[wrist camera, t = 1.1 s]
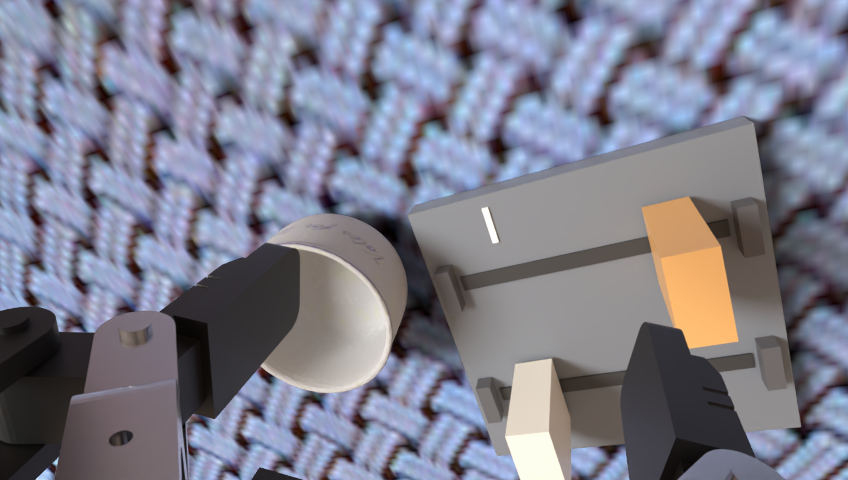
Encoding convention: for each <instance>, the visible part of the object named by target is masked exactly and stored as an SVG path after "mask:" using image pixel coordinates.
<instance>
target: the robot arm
mask: <svg viewBox="0 0 848 480" xmlns="http://www.w3.org/2000/svg"><path fill="white" fill-rule="evenodd" d="M299 307H300V254H299V251H298V250H297V249H296V248H292V247H287V246H282V245H277V244H272V243H265V244H263V245H262V246H261V247H259V248H258V249H257V250H256V251H254V252H253V253H252V254H250V255H249V256H248V257H247V258H243V257H242V258H239V259H236V260H234V261H231V262H228V263H226V264H223V265H221V266H220V267H219V268H217V269H216V270H215V271H213V272H212V273H211V274H209V275H208V278H206V277H205V278H204V279H202V280H201V281H200V282H198V283H197V285H196V286H193V287H192V288H190V289H189V290H188V291H186V292H185V293H184V294H182V295H181V296H180V297H178V298H177V299H176V300H174V301H173V302H172V303H170V304H169V305H168V306H166V307H165V308H164V309H162V310H161V311H160V312H156V311H137V312H130V313H126V314H123V315H120V316H117V317H114V318H112V319H110V320H108V321H107V322H105V323H104V324H102V325H101V326H100V327H99V328H98V329H97V330H96V332H95V333H80V332H59V331H58V326H57V321H56V317H55V315H54V313H52V312H51V311H49V310H47V309H44V308H39V307H18V308H12V309H7V310H3V311H0V480H35V479H36V478H37V477H38V476H39V475H40V474H42V473H43V472H44V471H45V470H46V469H47V468H48V467H49V466H50V465H51V464H52V463H53V462H54V461H55V460H56V459H57V458H58V457H59V459H58V464H57V468H56V473H55V478H54V480H190V477H189V459H188V441H187V427H186V421H187V420H188V419H189V418H190V417H191V415H192V414H193V413H194V414H198V415H202V416H205V417H209V418H213V419H215V418H216V417H217V416H218V415H219V414H220V413H221V411H222V410H223V409H224V408H225V407H226V406H227V404H228V403H229V402H230V401H231V400H232V399H233V397H234V396H235V395H236V394H237V393H238V391H239V390H240V389H241V388H242V387H243V386H244V384H245V383H246V382H247V381H248V380H249V379H250V377H251V376H252V375H253V374H254V373H255V372H256V370H257V369H258V368H259V367H260V366H261V365H262V363H263V362H264V361H265V360H266V359H267V358H268V356H269V355H270V354H271V353H272V352H273V351H274V349H275V348H276V347H277V346H278V345H279V344H280V342H281V341H282V340H283V339H284V338H285V337H286V335H287V334H288V333H289V332H290V331H291V329H292V328H293V326H294V324H295V322H296V320H297V317H298V313H299ZM728 393H729V392H728V390H727V388H726V385H725V383H724V380H723V378H722V375H721V374H720V373H719V372H718V371H717V370H716V369H715V368H714V367H713V366H712V365H711V364H710V363H709V362H708V361H707V360H706V359H705V358H704V357H700V356H695V355H691V353H690V351H689V348H688V345H687V342H686V339H685V336H684V334H683V331H682V330H681V329H678V328H673V327H669V326H664V325H659V324H654V323H649V322H644V323H643V324H642V325H641V327H640V330H639V333H638V336H637V339H636V342H635V345H634V348H633V351H632V354H631V358H630V361H629V364H628V367H627V370H626V373H625V376H624V380H623V384H622V389H621V397H620V409H621V417H622V425H623V433H624V440H625V448H626V456H627V463H628V471H629V479H630V480H785V479H784V478H783V477H782V476H781V475H779V474H778V473H777V472H776V471H775V470H773V469H772V468H771V467H769V466H768V465H766V464H765V463H763V462H761V461H759V460H758V459H756V458H755V455H754V453H753V450H752V448H751V445H750V443H749V441H748V438H747V436H746V433H745V431H744V429H743V426H742V424H741V421H740V419H739V416H738V414H737V412H736V411H734V408H735V407H734V404H733V402H732V400H731V397H730V396H728ZM252 480H302V479H298V478H295V477H291V476H288V475H284V474H281V473H278V472H274V471H271V470H267V469H264V468H259V469H258V471H257V472H256V474H255V475H254V477H253V478H252Z"/></svg>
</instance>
